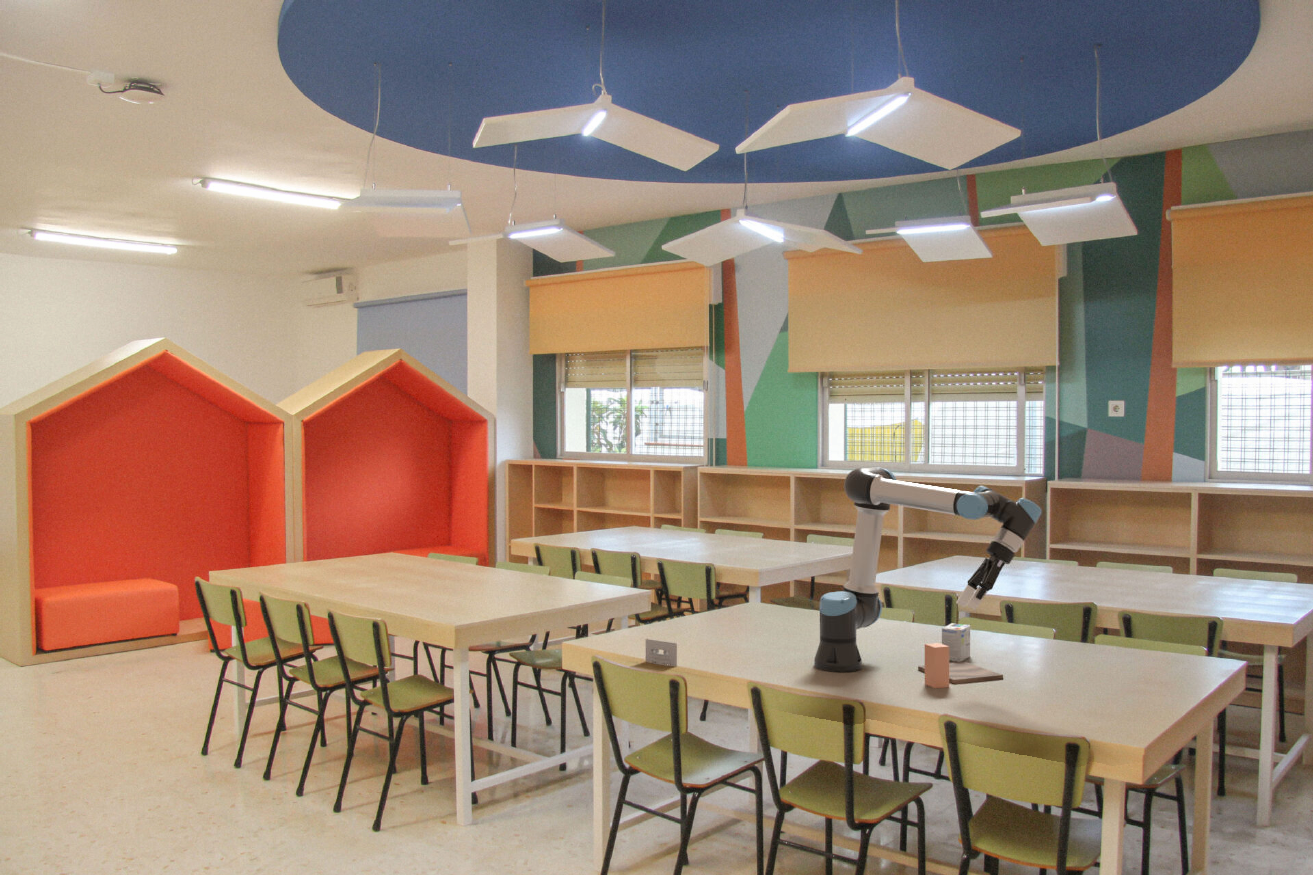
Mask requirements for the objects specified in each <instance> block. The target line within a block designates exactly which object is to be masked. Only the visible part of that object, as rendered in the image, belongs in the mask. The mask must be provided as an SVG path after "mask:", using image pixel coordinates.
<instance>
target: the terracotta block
mask: <svg viewBox="0 0 1313 875" xmlns="http://www.w3.org/2000/svg"><path fill="white" fill-rule="evenodd" d="M949 663H950V661H949V646H946V645H943V644H942V643H940V642H936V643H935V642H934V643H925V644H924V666H925V672H924V685H925V684H926V685H925V686H928V687H930V686H931V688H932V689H942V688H950V682H949Z"/></svg>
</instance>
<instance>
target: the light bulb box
mask: <svg viewBox="0 0 1313 875" xmlns="http://www.w3.org/2000/svg"><path fill="white" fill-rule="evenodd" d="M941 644H943V645H946V646H949V660H952V661H951V662H956V661H957V662H956V663H959V662H964V661H965V660H966V659H968V658H970V657H971V625H970V624H965V623H964V624H962V623H952V622H951V623H949V624H948V625H946V626H944V627H942V628H941Z"/></svg>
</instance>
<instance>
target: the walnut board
mask: <svg viewBox="0 0 1313 875" xmlns="http://www.w3.org/2000/svg"><path fill="white" fill-rule="evenodd" d="M917 670H918V671H920V672H922V671H923V673H925V665H918V666H917ZM1003 679H1004V674H1002V673H999V672H997V671H992V670H991V669H987V668H985V667H981V666H978V665H975V664H972V663H969V662H967V661H961V662H949V683H951V684H955V685H956V684H963V683H964V684H965V683H966V682H967V683H977V682H984V681H985V682H986V681H996V680H1003Z"/></svg>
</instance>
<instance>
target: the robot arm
mask: <svg viewBox="0 0 1313 875" xmlns="http://www.w3.org/2000/svg"><path fill="white" fill-rule="evenodd" d="M843 489H844V493H845V495H846V496H847V498H849V500H850V501H852V502H854V503H853V507H854V508H855V509H856V510H857V516H856V524H855V530H854V531H855V532H854V539H853V546H852V554H851V561H850V562H851V563H850V570H849V578H848V581H847V582H845V583H844V584H843V587H842V591H839V590H838V591H834V592H832V591H831V592H830V591H829V592H827V593H825V594H823V595H822V596H820V599H819V607H818V609H819V643H818V646H817V650H816V653H815V656H814V661H813V662H814V667H815V668H817V669H819V670H823V671H827V672H828V671H829V672H835V671H839V672H840V673H847V672H846V671H850V672H857V671H860V670H862V668H863V660H862V656H861V654H860V650H859V648H858V644H857V630H859V629H863V628H864V629H865V628H868V627H870V626H871V625H873V624H875V623H876V622H877V621H878V620H879V619H880V617H881V614H882V612H883V604H882V601H881V600H880V597H879V595H880V594H879V592H880V590H879V589H878V587H877V586H876V578H877V572H878V563H879V557H880V549H881V540H882V533H883V525H884V517H885V515H886V514H887V513H888V512H890V509H891V505H893V506H899V507H905V508H911V509H917V510H923V511H929V512H934V513H940V514H941V513H942V514H948V515H953V516H958V517H962V518H964V519H967V520H979V519H983V518H992V519H993V520H995V521H997V522H998V523H1000V524H1002V525H1001V527H1000V528H999V529H998V530H997V533H996V534H995V535H994V537H993V540H992V541H991V542H990V543H989V545H987V546H988V547H987V548H986V549H985V550H986V552H987V554H989V556H990V557H989V558H987V557H986V558H984V560H983V562H982V563H981V564H980V565H979V567H978V568H977V569H976V570H975V571H974V573H973V574H972V575H971V576H970V578H969V579H968V580H967V585H966V587H964V590H963V591H962V592H961V594H960V595H959V597H958V599H957V600H956V602H955V603H956V604H957V605H959V606H960V607H961V608H966V607H968V608H970V609H971V610H973V611H975V612H976V611H977V609H978V607H979V606H980V604H981V602H982V601H983V600H984V599H985V596H987V594H988V592H989V591H992V590H993V588H994V586H995V583H996V582H997V579H998V578H999V575H1000V574H1001V571H1002V569H1003V567H1004V566H1005V564H1006V565H1009V564H1011V562H1012V560H1014V557H1015V556H1016V554H1015V553H1017V552H1018V551H1019V550H1020V548H1021V549H1022V548H1023V546H1024V545H1023V543H1024V542H1025V540H1026V539H1027V538H1028V536H1029V535H1030V533H1031V531H1033V529H1034V527H1035V526H1036V524H1037V522H1038V520H1039V518H1040V517H1041V514H1042V508H1041V507H1040V506H1039V505H1038V504H1037V503H1035V502H1033V501H1032V500H1029V499H1026V498H1025V497H1021V498H1019V499H1018V500H1016V501H1015V500H1013V499H1010V498H1009V497H1006V496H1004V495H1002V494H1001V493H999V492H997V491H995V490H993V489H992V488H989V487H987V486H985V485H979V486H978V487H976V488H975V489H974V490H973V491H966V490H961V489H960V490H959V489H952V488H946V487H940V486H934V485H933V486H932V485H926V484H920V483H914V482H907V481H901V480H897V477H896V476H895V474H893V472H892V471H891V470H889V469H886V468H884V467H879V466H878V467H876V466H873V467H859V468H855V469H853V470H851V471H850V472H849V473H847V475H846V477H845V479H844V483H843ZM859 669H860V670H859Z"/></svg>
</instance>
